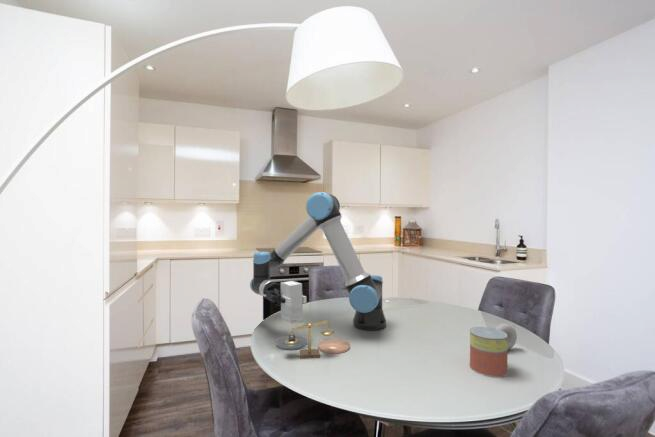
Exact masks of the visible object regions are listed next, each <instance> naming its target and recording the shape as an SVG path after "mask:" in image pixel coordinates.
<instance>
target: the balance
mask: <svg viewBox="0 0 655 437" xmlns="http://www.w3.org/2000/svg"><path fill="white" fill-rule="evenodd" d="M328 323H329V322H328V320H327V319H326V320H322V321H318V322H314V323H311V322H309V323H307V324H306V325H302V326H297V327H293V328H291V332H290V333H291V334H289V335H287V336H288V339H286V340H285V343H286V344H290V345H293V344H297V343H299V340H298V339H297V338H295V336H296V334H294V333H293V332H297V331H299V330H301V331H302V330H305V329H307V349H304V348H301V349H299V359H300V360H302V359H304V360H305V359H320V358H321V356H320V355H321V354H320V350H319V349H318V348H312V328H313V327H317V326H321V325H325V324H326V329H322V330H320V331H319V333H320V335H322V336H325V337H326V336H327V337H328V336H329V337H330V336H333V335H335V331H334V330H332V329H328V328H329V327H328V326H329V324H328Z"/></svg>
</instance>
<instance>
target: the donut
mask: <svg viewBox="0 0 655 437" xmlns="http://www.w3.org/2000/svg"><path fill="white" fill-rule="evenodd" d="M494 329H498V330H501V331H503V332H505V333H507V334H508V351H509V350H511V349H512V348H513V347H514V346H515V345H516V342H517V339H518V335H517V331H516V329H515V327H514V326H513V325H511V324H509V323H500V324H498V325H497V326H496V327H495V328H494Z"/></svg>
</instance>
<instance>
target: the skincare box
mask: <svg viewBox="0 0 655 437" xmlns="http://www.w3.org/2000/svg"><path fill="white" fill-rule="evenodd" d="M280 285H281V297H282V296H285V297H288V298H290V299H292V301H291V306H290V307H289V306H287V305H285V304H283V303H281V304H280V319H281V320H282V321H284V322H287V324H289V325H290V324H292V325H293V324H297V323H303V321H304V315H303V314H304V313H303V312H304V311H303V308H304V307H303V305H304V303H302V292H303V283H301V282H298V281H294V280H289V281H280Z"/></svg>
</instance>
